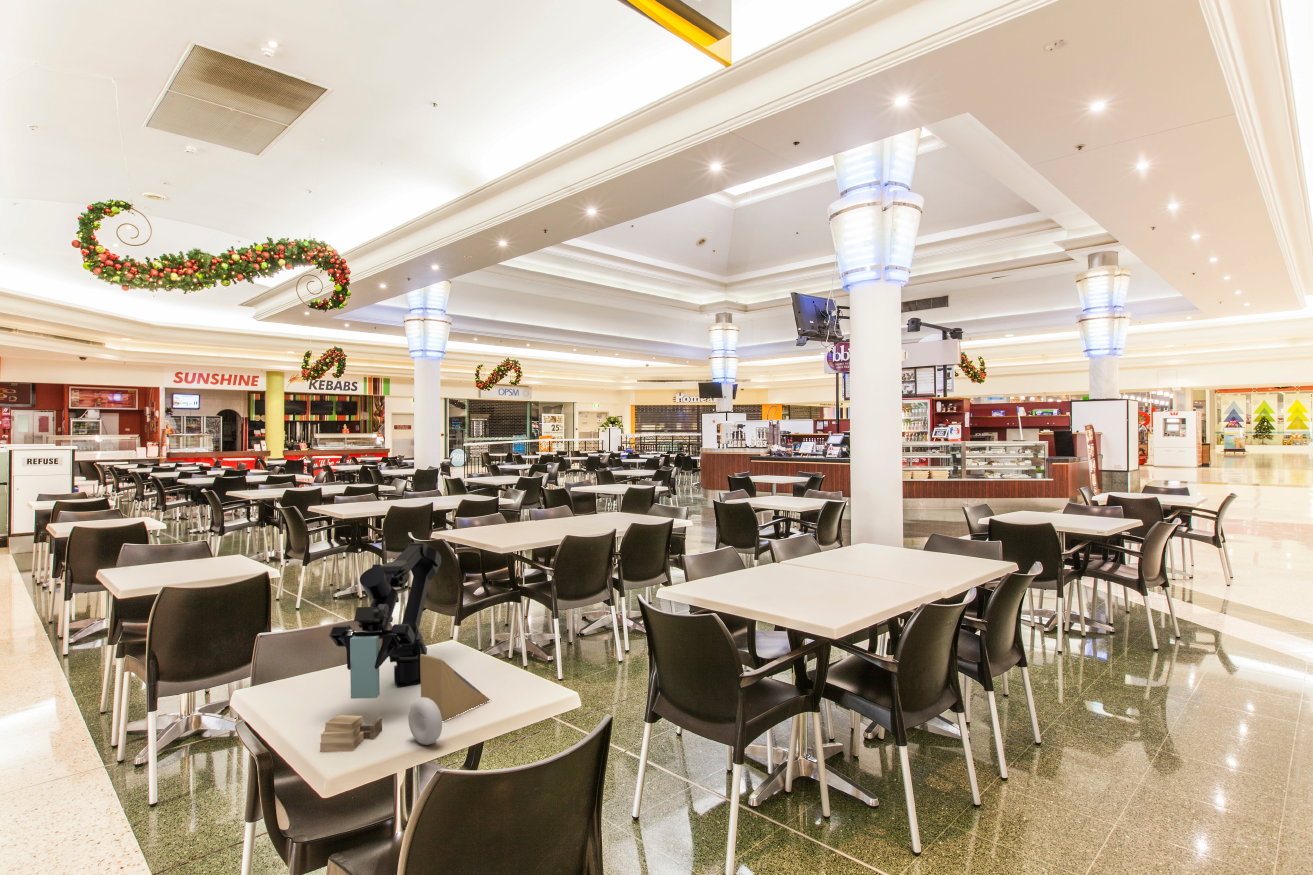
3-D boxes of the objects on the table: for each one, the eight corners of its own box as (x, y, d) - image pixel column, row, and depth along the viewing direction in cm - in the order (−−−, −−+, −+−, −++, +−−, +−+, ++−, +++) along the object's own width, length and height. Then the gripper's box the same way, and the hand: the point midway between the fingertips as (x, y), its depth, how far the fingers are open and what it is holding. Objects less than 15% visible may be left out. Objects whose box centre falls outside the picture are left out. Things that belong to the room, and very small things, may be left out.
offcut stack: (331, 741, 141) (331, 715, 141) (364, 740, 141) (363, 714, 141) (318, 752, 135) (318, 725, 136) (352, 752, 135) (352, 724, 136)
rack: (334, 731, 145) (334, 718, 145) (382, 730, 145) (382, 717, 146) (325, 740, 141) (325, 727, 141) (373, 739, 141) (373, 725, 141)
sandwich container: (493, 701, 162) (492, 642, 162) (443, 723, 149) (442, 659, 149) (471, 694, 167) (470, 637, 167) (420, 715, 154) (419, 653, 154)
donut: (405, 740, 140) (404, 695, 140) (419, 734, 143) (418, 690, 143) (432, 752, 134) (431, 705, 134) (446, 746, 137) (445, 700, 137)
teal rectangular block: (354, 695, 150) (353, 636, 150) (379, 694, 150) (379, 635, 150) (350, 698, 148) (350, 638, 149) (376, 697, 148) (375, 637, 149)
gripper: (332, 592, 153) (308, 653, 142) (409, 590, 154) (392, 650, 143) (348, 616, 161) (326, 675, 150) (421, 614, 161) (406, 673, 150)
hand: (362, 668), depth 148 cm, fingers closed on teal rectangular block, 6 cm apart
